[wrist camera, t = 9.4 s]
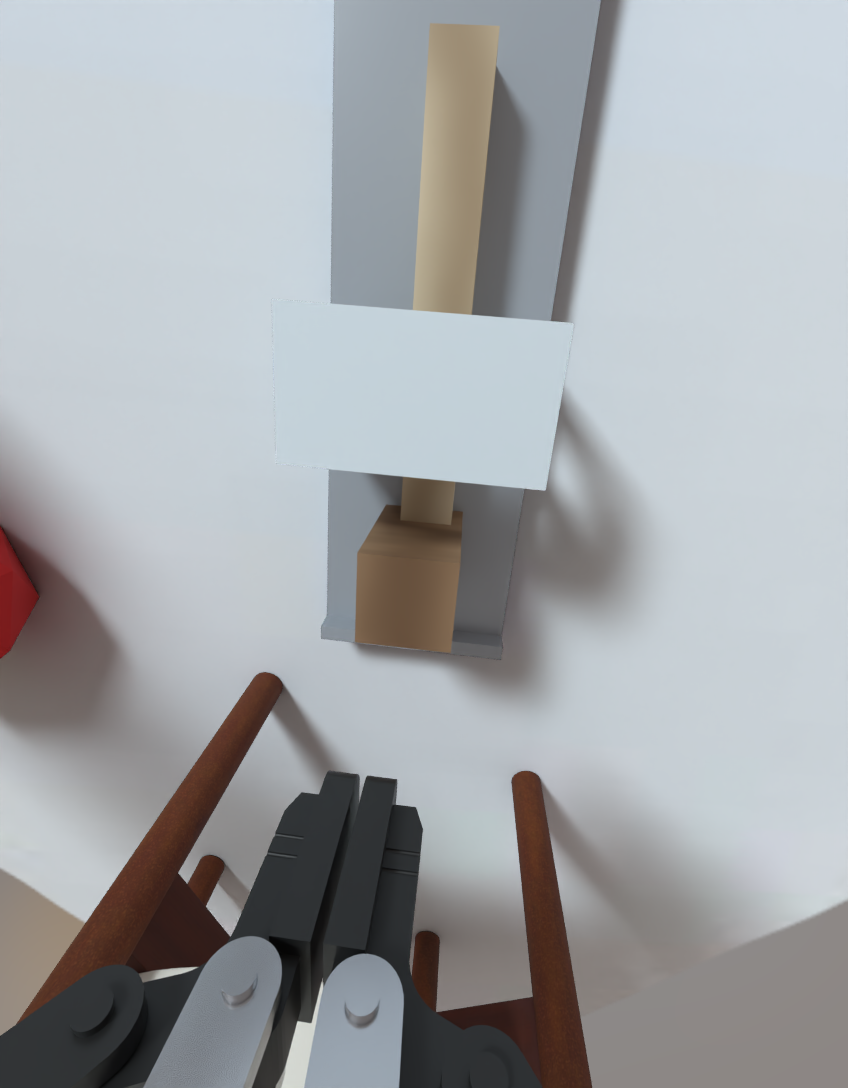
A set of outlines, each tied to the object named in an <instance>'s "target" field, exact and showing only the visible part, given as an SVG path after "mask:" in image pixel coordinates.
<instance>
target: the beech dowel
mask: <svg viewBox="0 0 848 1088" xmlns="http://www.w3.org/2000/svg"><path fill="white" fill-rule="evenodd" d="M499 29H500V26H490V25H465V24H440V23H430V30H429V47H428V63H427V80H426V97H425V114H424V131H423V148H422V164H421V181H420V198H419V215H418V232H417V249H416V265H415V282H414V299H413V310H417V311H430V312H442V313H455V314H467V315H472V308H473V297H474V287H475V277H476V267H477V257H478V247H479V236H480V226H481V216H482V206H483V196H484V185H485V175H486V165H487V155H488V145H489V135H490V124H491V114H492V104H493V94H494V84H495V73H496V63H497V52H498V40H499ZM454 491H455V482H453V481H443V480H433V479H423V478H413V477H403V484H402V501H401V518H400V520H404V521H414V522H424V523H435V524H445V525H451V520H452V511H453V501H454Z"/></svg>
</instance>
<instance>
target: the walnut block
mask: <svg viewBox="0 0 848 1088" xmlns="http://www.w3.org/2000/svg"><path fill="white" fill-rule="evenodd" d="M400 518H401V506H398V505H388V504H386V506H385V507H384V509H383V511H382V512H381V514H380V516H379V517H378V519H377V521H376V522H375V524H374V526H373V527H372V529H371V531H370V532H369V534H368V536H367V538H366V539H365V541H364V543H363V544H362V546H361V548H360V549H359V551H358V553H357V580H356V616H355V642H357V643H366V644H375V645H383V646H392V647H401V648H410V649H419V650H428V651H437V652H446V653H451V645H452V636H453V627H454V618H455V608H456V599H457V590H458V581H459V571H460V560H461V540H462V519H463V512H461V511H452V520H451V525H445V524H435V523H424V522H414V521H404V520H400Z"/></svg>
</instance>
